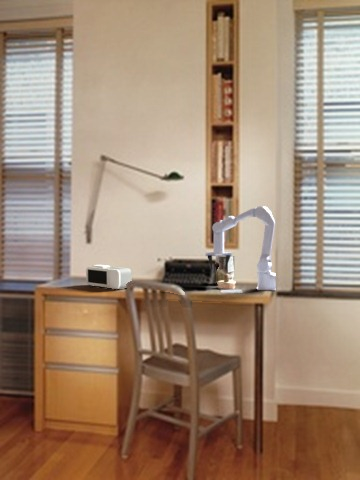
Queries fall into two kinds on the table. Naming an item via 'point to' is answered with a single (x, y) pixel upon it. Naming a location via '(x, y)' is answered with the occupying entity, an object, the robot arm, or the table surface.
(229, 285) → the bowl
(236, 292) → the mat
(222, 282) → the lid
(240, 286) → the table surface
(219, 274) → the coffee box
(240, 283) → the table surface
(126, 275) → the alarm clock
